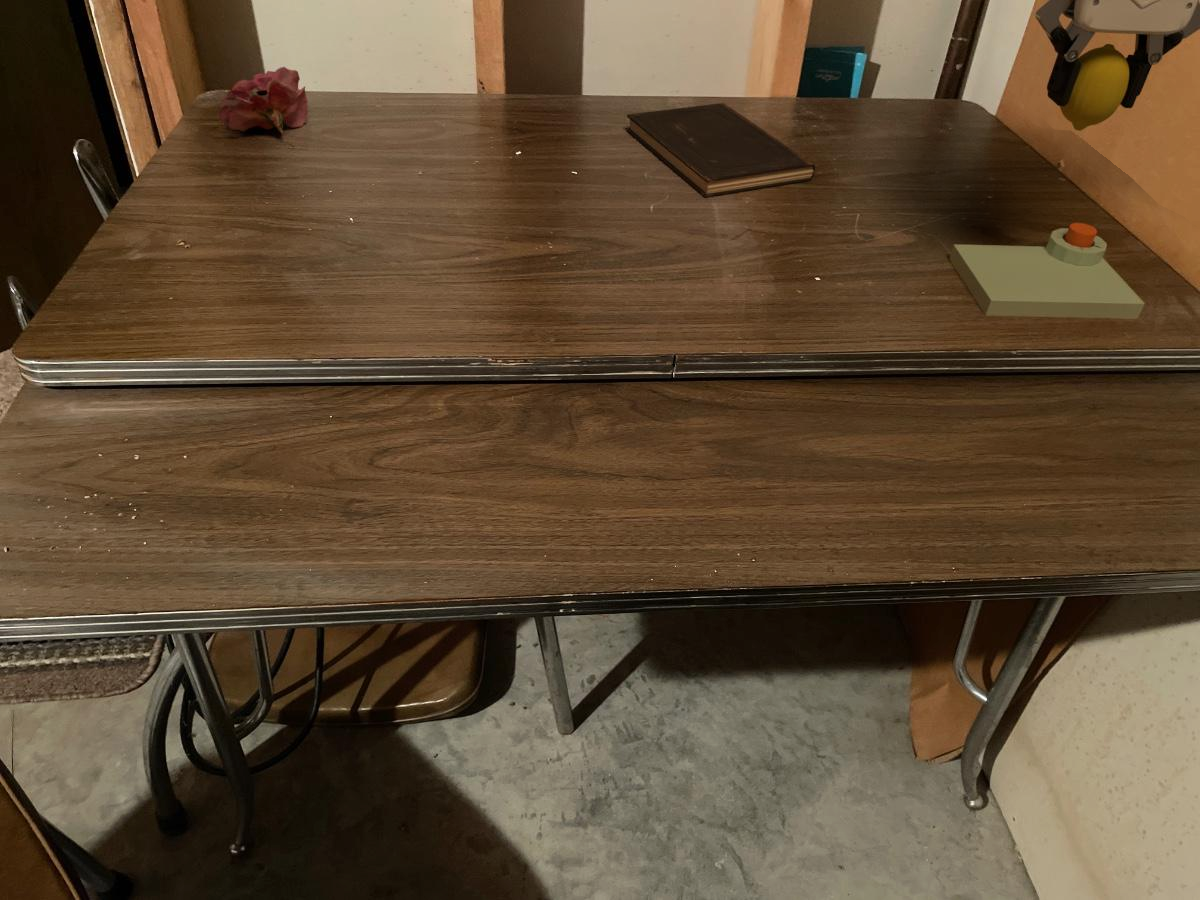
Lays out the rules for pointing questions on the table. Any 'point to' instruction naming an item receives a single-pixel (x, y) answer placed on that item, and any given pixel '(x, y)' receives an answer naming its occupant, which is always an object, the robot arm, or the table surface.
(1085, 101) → the lemon
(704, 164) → the hardcover book
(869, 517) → the table surface
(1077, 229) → the button
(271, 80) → the flower
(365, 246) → the table surface
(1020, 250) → the scale
